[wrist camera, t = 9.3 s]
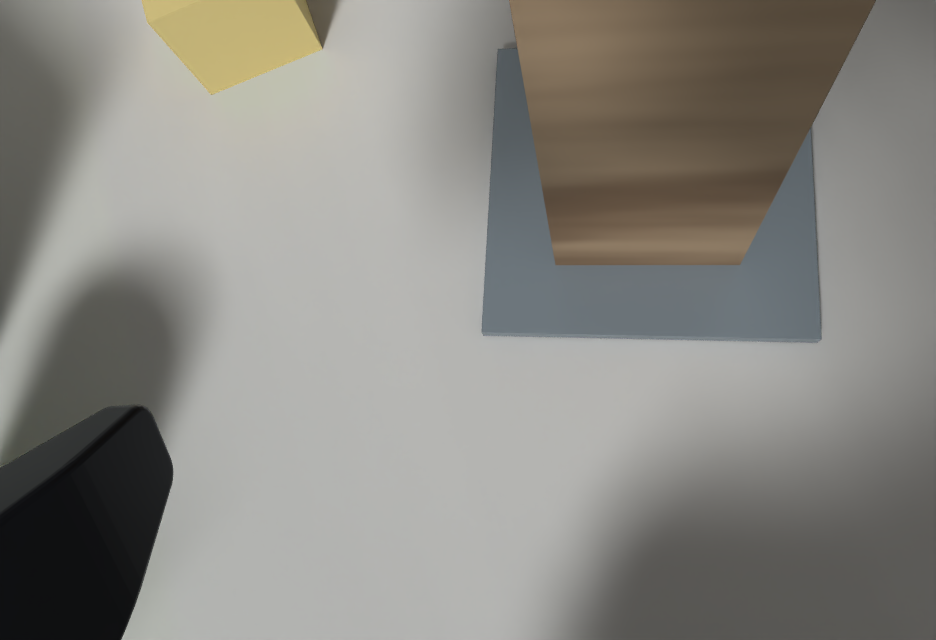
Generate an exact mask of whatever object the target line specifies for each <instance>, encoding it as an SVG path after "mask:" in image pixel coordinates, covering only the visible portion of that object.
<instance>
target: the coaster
mask: <svg viewBox="0 0 936 640" xmlns="http://www.w3.org/2000/svg"><path fill="white" fill-rule="evenodd" d="M482 334H483V336H525V337H572V338H620V339H667V340H714V341H761V342H808V343H818V342H819V341H820V340H821V322H820V302H819V282H818V263H817V243H816V223H815V203H814V184H813V164H812V144H811V128H810V130H809V132H808V134H807V136H806V138H805V140H804V141H803V143H802V145H801V147H800V149H799V151H798V153H797V155H796V157H795V159H794V161H793V163H792V165H791V167H790V169H789V171H788V173H787V174H786V176H785V178H784V180H783V182H782V184H781V186H780V188H779V190H778V192H777V194H776V196H775V198H774V200H773V202H772V204H771V206H770V208H769V209H768V211H767V213H766V215H765V217H764V219H763V221H762V223H761V225H760V227H759V229H758V231H757V233H756V235H755V237H754V239H753V241H752V243H751V244H750V246H749V248H748V250H747V252H746V254H745V256H744V258H743V260H742V262H741V264H740V265H555V260H554V254H553V248H552V243H551V237H550V231H549V225H548V220H547V214H546V208H545V202H544V197H543V191H542V185H541V180H540V174H539V168H538V162H537V157H536V151H535V145H534V140H533V134H532V128H531V122H530V117H529V111H528V105H527V100H526V94H525V88H524V82H523V77H522V71H521V65H520V60H519V54H518V48H513V49H498V54H497V72H496V89H495V106H494V124H493V141H492V159H491V176H490V194H489V211H488V228H487V246H486V263H485V281H484V298H483V315H482Z"/></svg>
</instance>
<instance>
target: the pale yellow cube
mask: <svg viewBox="0 0 936 640" xmlns="http://www.w3.org/2000/svg"><path fill="white" fill-rule="evenodd" d="M142 4H143V8H144V12H145V15H146V19H147V23H148V24H149V25H150V26H151V27H152V28H153V29H154V31H155V32H156V33H157V34H158V35H159V36H160V37H161V39H162V40H163V41H164V42H165V43H166V44H167V45H168V46H169V48H170V49H171V50H172V51H173V52H174V53H175V54H176V55H177V57H178V58H179V59H180V60H181V61H182V62H183V63H184V65H185V66H186V67H187V68H188V69H189V70H190V71H191V72H192V74H193V75H194V76H195V77H196V78H197V79H198V80H199V81H200V83H201V84H202V85H203V86H204V87H205V88H206V89H207V90H208V92H209V93H210V94H211V95H212V94H215V93H217V92H220V91H222V90H225V89H227V88H229V87H232V86H234V85H237V84H239V83H242V82H244V81H246V80H249V79H251V78H254V77H256V76H259V75H261V74H263V73H266V72H268V71H271V70H273V69H276V68H278V67H280V66H283V65H285V64H288V63H290V62H293V61H295V60H297V59H300V58H302V57H305V56H307V55H310V54H312V53H314V52H317V51H319V50H322V46H321V43H320V40H319V37H318V34H317V31H316V28H315V26H314V23H313V20H312V17H311V14H310V11H309V8H308V5H307V2H306V0H142Z"/></svg>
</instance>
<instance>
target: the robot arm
mask: <svg viewBox="0 0 936 640" xmlns="http://www.w3.org/2000/svg"><path fill="white" fill-rule="evenodd" d="M172 481H173V465H172V461H171V458H170V455H169V453H168V451H167V448H166V446H165V443H164V441H163V439H162V436H161V434H160V432H159V429H158V427H157V424H156V422H155V420H154V417H153V415H152V413H151V412H150V411H149V410H148V408H146V407H145V406H142V405H139V404H137V405H122V406H111V407H107V408H104V409H102V410H101V411H99V412H97V413H95V414H94V415H92V416H90V417H89V418H87V419H85V420H83V421H82V422H80V423H78V424H76V425H75V426H73V427H71V428H69V429H68V430H66V431H64V432H62V433H61V434H59V435H57V436H55V437H54V438H52V439H50V440H49V441H47V442H45V443H43V444H42V445H40V446H38V447H36V448H35V449H33V450H31V451H29V452H28V453H26V454H24V455H22V456H21V457H19V458H17V459H15V460H14V461H12V462H10V463H9V464H7V465H5V466H3V467H2V468H0V640H121V639H122V637H123V634H124V632H125V630H126V627H127V625H128V622H129V620H130V617H131V614H132V612H133V609H134V607H135V604H136V601H137V598H138V595H139V592H140V589H141V586H142V583H143V580H144V576H145V573H146V570H147V566H148V563H149V560H150V556H151V553H152V550H153V546H154V543H155V539H156V536H157V533H158V529H159V526H160V523H161V519H162V516H163V513H164V509H165V506H166V502H167V499H168V496H169V492H170V489H171V486H172Z"/></svg>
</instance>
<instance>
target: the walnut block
mask: <svg viewBox="0 0 936 640" xmlns="http://www.w3.org/2000/svg"><path fill="white" fill-rule="evenodd" d="M875 1H876V0H509V2H510V8H511V14H512V20H513V25H514V31H515V37H516V42H517V48H518V54H519V60H520V65H521V71H522V77H523V82H524V88H525V94H526V100H527V105H528V111H529V117H530V122H531V128H532V134H533V140H534V145H535V151H536V157H537V162H538V168H539V174H540V180H541V185H542V191H543V197H544V202H545V208H546V214H547V220H548V225H549V231H550V237H551V243H552V248H553V254H554V260H555V265H740V264H741V262H742V260H743V258H744V256H745V254H746V252H747V250H748V248H749V246H750V244H751V243H752V241H753V239H754V237H755V235H756V233H757V231H758V229H759V227H760V225H761V223H762V221H763V219H764V217H765V215H766V213H767V211H768V209H769V208H770V206H771V204H772V202H773V200H774V198H775V196H776V194H777V192H778V190H779V188H780V186H781V184H782V182H783V180H784V178H785V176H786V174H787V173H788V171H789V169H790V167H791V165H792V163H793V161H794V159H795V157H796V155H797V153H798V151H799V149H800V147H801V145H802V143H803V141H804V140H805V138H806V136H807V134H808V132H809V130H810V128H811V126H812V124H813V122H814V120H815V118H816V116H817V114H818V112H819V110H820V108H821V106H822V105H823V103H824V101H825V99H826V97H827V95H828V93H829V91H830V89H831V87H832V85H833V83H834V81H835V79H836V77H837V75H838V73H839V71H840V70H841V68H842V66H843V64H844V62H845V60H846V58H847V56H848V54H849V52H850V50H851V48H852V46H853V44H854V42H855V40H856V38H857V36H858V35H859V33H860V31H861V29H862V27H863V25H864V23H865V21H866V19H867V17H868V15H869V13H870V11H871V9H872V7H873V5H874V3H875Z"/></svg>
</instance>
